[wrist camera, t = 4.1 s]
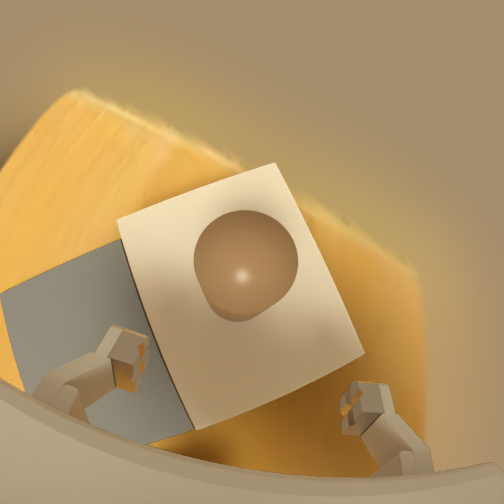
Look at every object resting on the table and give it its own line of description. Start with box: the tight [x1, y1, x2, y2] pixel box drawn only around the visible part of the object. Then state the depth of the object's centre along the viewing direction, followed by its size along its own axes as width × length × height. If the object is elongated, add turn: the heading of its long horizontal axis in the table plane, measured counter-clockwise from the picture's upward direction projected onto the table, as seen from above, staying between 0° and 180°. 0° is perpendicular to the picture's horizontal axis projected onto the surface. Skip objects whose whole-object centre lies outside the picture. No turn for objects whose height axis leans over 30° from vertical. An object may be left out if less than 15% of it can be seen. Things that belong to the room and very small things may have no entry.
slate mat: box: [0, 240, 194, 444], centre depth 26 cm, size 19×16×1 cm
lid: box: [117, 163, 365, 430], centre depth 19 cm, size 16×13×11 cm
